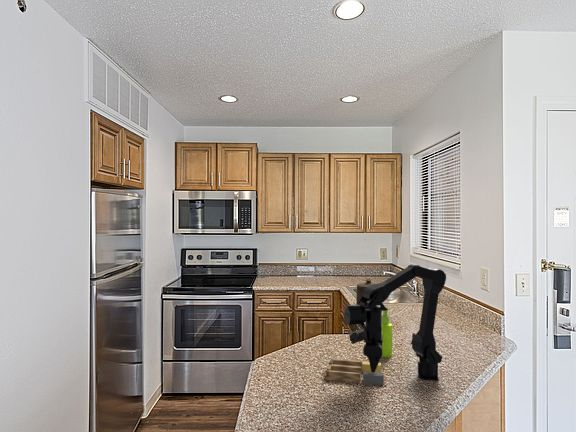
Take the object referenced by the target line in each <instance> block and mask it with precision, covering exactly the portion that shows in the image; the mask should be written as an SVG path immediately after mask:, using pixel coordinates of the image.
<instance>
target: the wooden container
mask: <svg viewBox="0 0 576 432" xmlns="http://www.w3.org/2000/svg"><path fill="white" fill-rule="evenodd" d="M374 284H375V283H373V282H372V279H371V278H366V279H365V283H363V282H362V283H357V284H356V298H355V299H356V300H355V301H356V303H355V305H357V303H358V301H359V300H360V298H361V297H362V295H363V292H364V289H365V288H367V287H369V286H371V285H374ZM366 303H369V302H366Z"/></svg>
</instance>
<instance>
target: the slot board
mask: <svg viewBox="0 0 576 432" xmlns="http://www.w3.org/2000/svg"><path fill="white" fill-rule="evenodd" d="M362 375H363V372H362V360H353V359H352V360H351V359H339V358H338V359H337V358H331V359H330V360H329V362H328V365H327V367H326V371H325V380H327V381H328V380H329V381H337V382H346V383H347V382H350V383H358V384H359V383H361V380H362Z"/></svg>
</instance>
